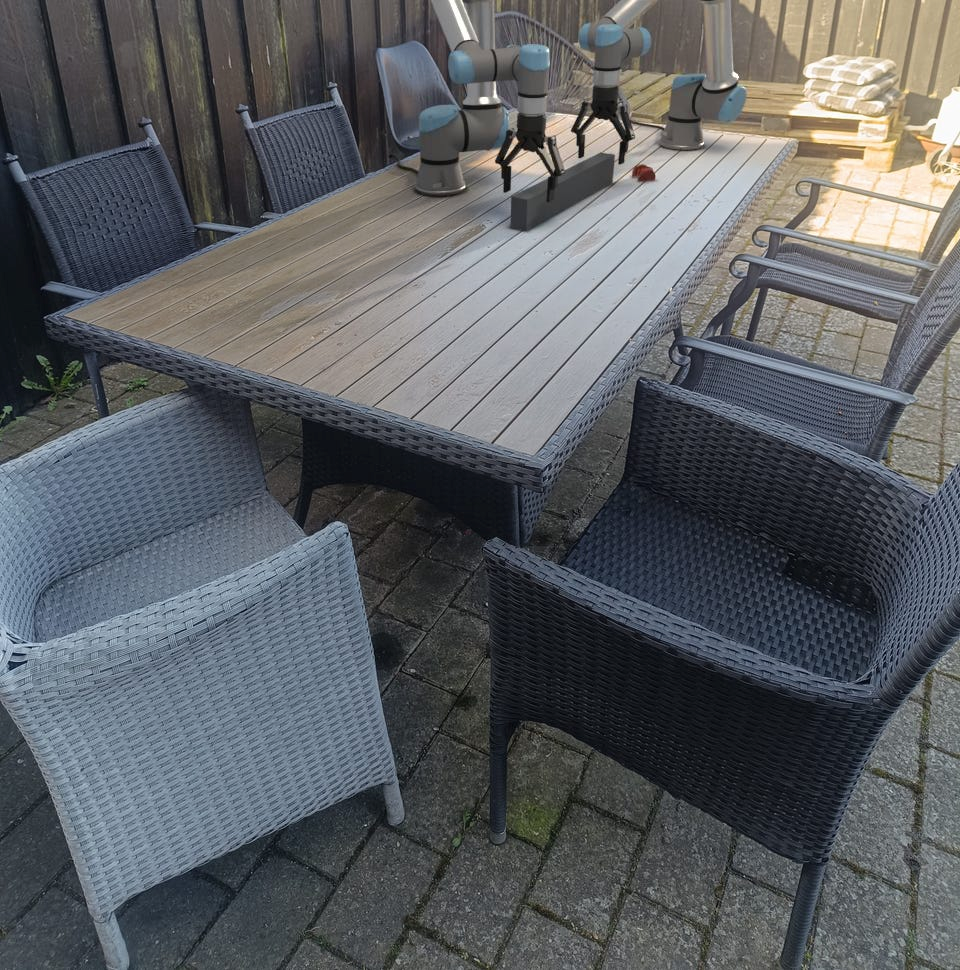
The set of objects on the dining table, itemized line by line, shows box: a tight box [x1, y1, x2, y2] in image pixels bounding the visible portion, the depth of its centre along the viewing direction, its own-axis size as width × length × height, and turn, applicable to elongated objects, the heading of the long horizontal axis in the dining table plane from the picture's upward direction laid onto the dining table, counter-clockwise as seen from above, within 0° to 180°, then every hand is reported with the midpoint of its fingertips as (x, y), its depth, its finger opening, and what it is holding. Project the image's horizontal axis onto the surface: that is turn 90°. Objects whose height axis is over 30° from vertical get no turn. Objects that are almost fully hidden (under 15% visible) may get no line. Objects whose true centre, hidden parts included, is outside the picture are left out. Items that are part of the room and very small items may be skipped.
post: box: [510, 152, 616, 232], centre depth 245 cm, size 54×5×8 cm, turn 147°
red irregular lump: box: [631, 163, 656, 182], centre depth 267 cm, size 6×4×8 cm
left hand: (528, 196), depth 229 cm, fingers open, 13 cm apart
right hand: (600, 160), depth 258 cm, fingers open, 13 cm apart
